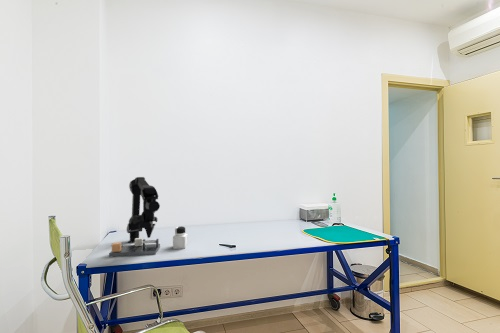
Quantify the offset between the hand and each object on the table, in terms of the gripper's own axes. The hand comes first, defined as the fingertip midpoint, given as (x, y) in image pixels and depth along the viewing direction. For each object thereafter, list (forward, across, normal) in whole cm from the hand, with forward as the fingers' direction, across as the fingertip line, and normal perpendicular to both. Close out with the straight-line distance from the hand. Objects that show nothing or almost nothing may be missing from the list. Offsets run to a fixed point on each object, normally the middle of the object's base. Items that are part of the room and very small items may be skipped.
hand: (148, 237), depth 152 cm
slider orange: (+6, 0, -17) cm, 18 cm away
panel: (+9, -4, -8) cm, 13 cm away
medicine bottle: (+9, -9, +16) cm, 21 cm away
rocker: (+4, -4, 0) cm, 6 cm away
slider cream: (+7, -9, -8) cm, 13 cm away
